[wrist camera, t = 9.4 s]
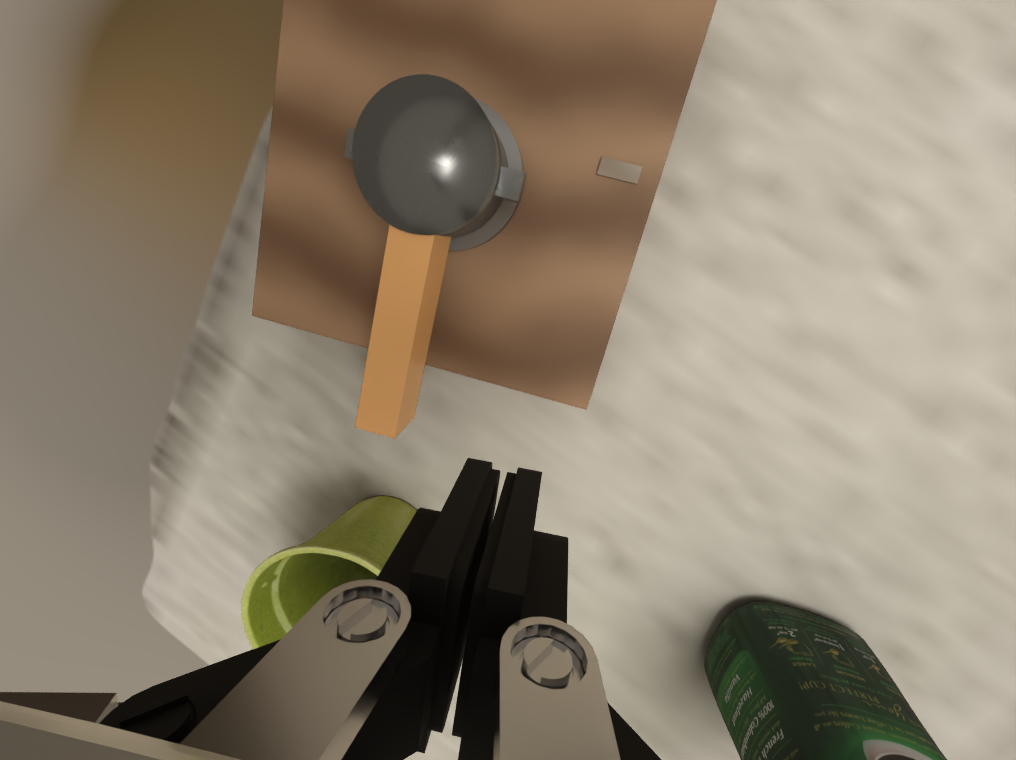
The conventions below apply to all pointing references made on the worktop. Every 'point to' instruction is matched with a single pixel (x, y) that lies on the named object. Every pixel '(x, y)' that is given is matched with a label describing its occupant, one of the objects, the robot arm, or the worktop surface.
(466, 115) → the portafilter
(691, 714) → the worktop surface
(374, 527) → the plant pot
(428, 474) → the worktop surface
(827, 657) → the coffee jar
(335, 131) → the wooden cutting board
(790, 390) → the worktop surface
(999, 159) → the worktop surface
